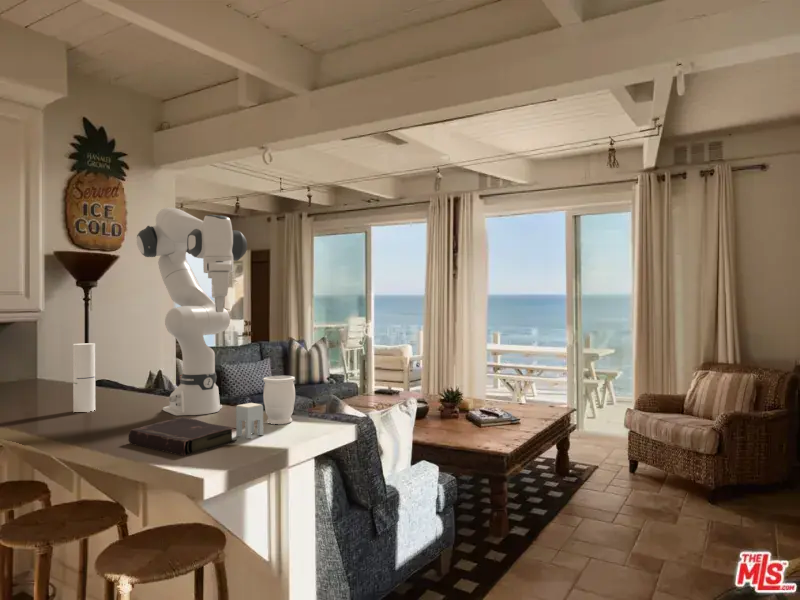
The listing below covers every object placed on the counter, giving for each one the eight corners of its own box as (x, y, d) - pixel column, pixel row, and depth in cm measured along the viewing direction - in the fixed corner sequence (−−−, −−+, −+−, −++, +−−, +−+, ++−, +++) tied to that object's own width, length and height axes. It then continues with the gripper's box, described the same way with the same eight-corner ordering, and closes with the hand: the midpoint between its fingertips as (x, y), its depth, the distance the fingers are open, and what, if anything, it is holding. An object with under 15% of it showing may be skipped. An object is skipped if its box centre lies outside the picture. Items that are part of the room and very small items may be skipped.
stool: (236, 436, 169) (236, 405, 169) (251, 432, 173) (251, 402, 173) (247, 439, 165) (247, 407, 165) (263, 435, 170) (263, 404, 170)
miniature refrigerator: (88, 412, 206) (88, 344, 206) (69, 413, 206) (68, 344, 206) (99, 409, 213) (98, 343, 214) (80, 409, 214) (80, 343, 214)
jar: (287, 426, 182) (287, 379, 182) (258, 425, 184) (257, 379, 184) (300, 419, 193) (299, 375, 193) (271, 418, 195) (271, 375, 195)
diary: (183, 459, 147) (182, 440, 147) (128, 446, 161) (127, 429, 161) (239, 442, 163) (238, 425, 163) (184, 432, 177) (184, 416, 177)
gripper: (206, 269, 181) (207, 312, 181) (208, 264, 162) (209, 312, 162) (227, 269, 184) (228, 312, 183) (231, 264, 165) (232, 311, 164)
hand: (219, 312), depth 173 cm, fingers open, 8 cm apart
